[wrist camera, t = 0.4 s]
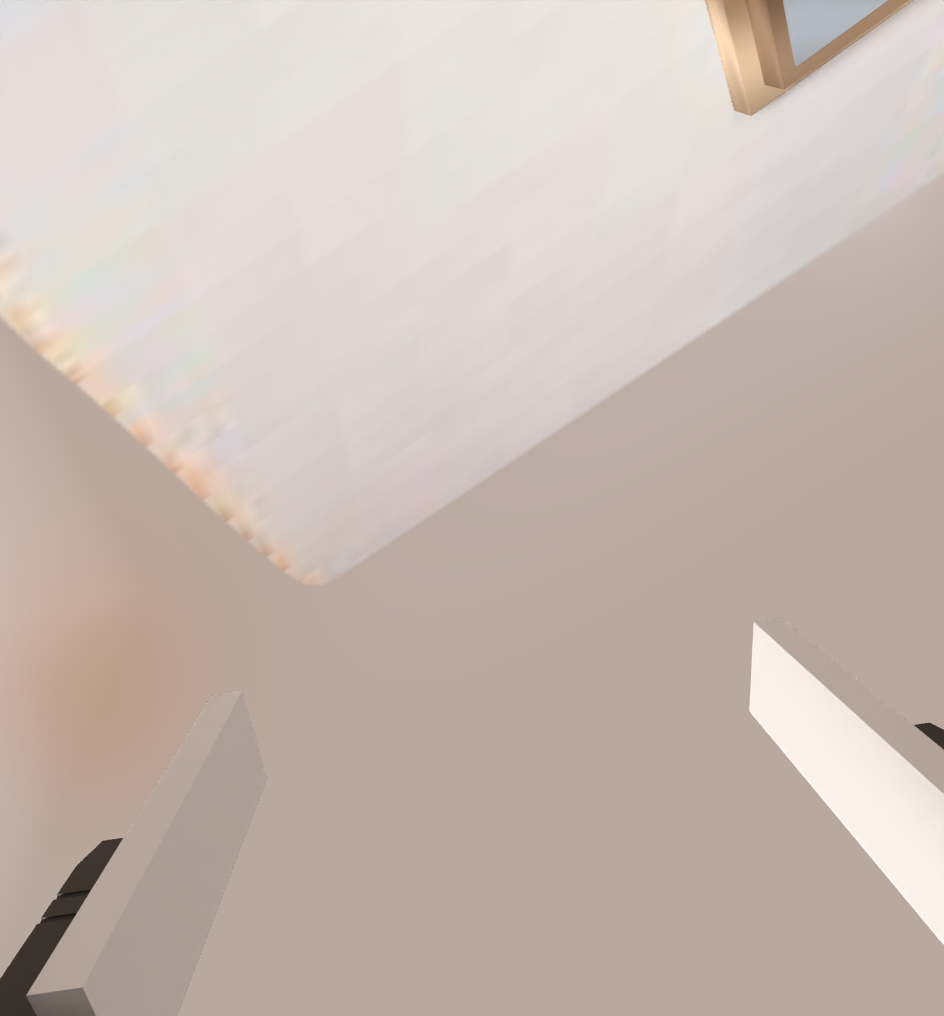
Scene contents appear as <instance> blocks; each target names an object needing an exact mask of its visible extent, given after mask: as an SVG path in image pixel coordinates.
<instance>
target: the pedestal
mask: <svg viewBox="0 0 944 1016" xmlns="http://www.w3.org/2000/svg"><path fill="white" fill-rule="evenodd" d="M911 1H913V0H706V4H707V8H708V12H709V15H710V19H711V23H712V27H713V31H714V34H715V38H716V42H717V46H718V49H719V53H720V57H721V61H722V65H723V68H724V72H725V76H726V80H727V84H728V87H729V91H730V95H731V99H732V103H733V106H734V110H735V111H738V112H741V113H744V114H747V115H750V116H752V115H753V114H755V113H756V112H758V111H759V110H760V109H762V108H763V107H765V106H766V105H767V104H769V103H770V102H772V101H773V100H774V99H776V98H777V97H779V96H780V95H781V94H783V93H784V92H785V91H787V90H788V89H790V88H791V87H792V86H794V85H795V84H797V83H798V82H799V81H801V80H802V79H804V78H805V77H806V76H808V75H809V74H811V73H812V72H813V71H815V70H816V69H818V68H819V67H820V66H822V65H823V64H825V63H826V62H827V61H829V60H830V59H832V58H833V57H834V56H836V55H837V54H839V53H840V52H841V51H843V50H844V49H846V48H847V47H848V46H850V45H851V44H853V43H854V42H855V41H857V40H858V39H860V38H861V37H862V36H864V35H865V34H866V33H868V32H869V31H871V30H872V29H873V28H875V27H876V26H878V25H879V24H880V23H882V22H883V21H885V20H886V19H887V18H889V17H890V16H892V15H893V14H894V13H896V12H897V11H899V10H900V9H901V8H903V7H904V6H906V5H907V4H908V3H910V2H911Z"/></svg>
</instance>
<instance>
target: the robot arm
mask: <svg viewBox="0 0 944 1016" xmlns="http://www.w3.org/2000/svg"><path fill="white" fill-rule="evenodd" d="M750 690H751V691H750V710H749V711H750V712H751V714H752V715H753V716H754V717H755V718H756V720H757V721H758V722H759V723H760V724H761V725H762V727H763V728H764V729H765V731H766V732H767V733H768V734H769V735H770V737H771V738H772V739H773V740H774V741H775V743H776V744H777V745H778V746H779V747H780V748H781V750H782V751H783V752H784V753H785V755H786V756H787V757H788V758H789V759H790V760H791V762H792V763H793V764H794V765H795V767H796V768H797V769H798V770H799V771H800V773H801V774H802V775H803V776H804V777H805V778H806V780H807V781H808V782H809V783H810V784H811V786H812V787H813V788H814V789H815V791H816V792H817V793H818V794H819V795H820V797H821V798H822V799H823V800H824V801H825V803H826V804H827V805H828V806H829V807H830V809H831V810H832V811H833V812H834V813H835V815H836V816H837V817H838V818H839V820H841V822H842V823H843V824H844V826H845V827H846V828H847V829H848V830H849V831H850V833H851V834H852V835H853V836H854V837H855V839H856V840H857V841H858V842H859V843H860V845H861V846H862V847H863V848H864V850H865V851H866V852H867V853H868V854H869V856H870V857H871V858H872V859H873V860H874V861H875V863H876V864H877V865H878V866H879V868H880V869H881V870H882V871H883V872H884V874H885V875H886V876H887V877H888V878H889V879H890V881H891V882H892V883H893V884H894V886H895V887H896V888H897V889H898V890H899V892H900V893H901V894H902V895H903V896H904V898H905V899H906V900H907V901H908V903H910V905H911V906H912V907H913V909H914V910H915V911H916V912H917V913H918V915H920V917H921V918H922V919H923V921H924V922H925V923H926V924H927V925H928V927H929V928H930V929H931V930H932V931H933V933H934V934H935V935H936V936H937V937H938V939H939V940H940V941H941V942H942V943H943V945H944V730H943V729H941V728H939V727H937V726H935V725H933V724H931V723H925V724H918V725H913V724H912V723H910V722H909V721H908V720H907V719H906V718H904V717H903V716H902V715H901V714H899V713H898V712H897V711H896V710H895V709H893V708H892V707H891V706H890V705H888V704H887V703H886V702H885V701H884V700H882V699H881V698H880V697H879V696H878V695H876V694H875V693H874V692H872V691H871V690H870V689H869V688H868V687H866V686H865V685H864V684H863V683H862V682H860V681H859V680H858V679H856V677H854V676H853V675H852V674H851V673H849V672H848V671H847V670H846V669H844V668H843V667H842V666H841V665H840V664H838V663H837V662H836V661H835V660H833V659H832V658H831V657H830V656H829V655H827V654H826V653H825V652H824V651H823V650H821V649H820V648H819V647H818V646H816V645H815V644H814V643H813V642H812V641H810V640H809V639H808V638H807V637H805V636H804V635H803V634H802V633H801V632H799V631H798V630H797V629H796V628H794V627H793V626H792V625H791V624H790V623H788V622H787V621H786V620H785V619H783V618H779V619H772V620H764V621H756V622H754V627H753V649H752V671H751V689H750ZM266 780H267V776H266V772H265V769H264V765H263V761H262V758H261V754H260V751H259V747H258V744H257V740H256V737H255V733H254V730H253V726H252V723H251V719H250V716H249V712H248V708H247V705H246V701H245V698H244V694H243V691H237V692H230V693H222V694H215V695H212V696H211V697H210V699H209V701H208V702H207V704H206V705H205V707H204V708H203V710H202V712H201V713H200V715H199V717H198V718H197V720H196V722H195V723H194V725H193V726H192V728H191V730H190V731H189V733H188V734H187V736H186V738H185V739H184V741H183V742H182V744H181V746H180V747H179V749H178V751H177V752H176V754H175V755H174V757H173V759H172V760H171V762H170V763H169V765H168V767H167V768H166V770H165V772H164V773H163V775H162V777H161V778H160V780H159V782H158V783H157V785H156V786H155V788H154V790H153V791H152V793H151V794H150V796H149V797H148V799H147V801H146V803H145V804H144V806H143V807H142V809H141V810H140V812H139V814H138V815H137V817H136V819H135V820H134V822H133V823H132V825H131V827H130V828H129V830H128V831H127V833H126V835H125V836H124V838H119V839H112V840H106V841H102V842H101V843H100V844H99V845H98V846H97V847H96V848H95V849H94V850H93V851H92V852H91V853H90V854H88V856H86V857H85V858H84V859H83V861H81V862H80V863H79V864H78V865H77V866H76V867H75V869H74V870H73V872H72V873H71V875H70V876H69V878H68V879H67V881H66V882H65V884H64V885H63V887H62V888H61V890H60V891H59V893H58V894H57V899H56V900H53V901H52V903H51V905H50V906H49V907H48V909H47V910H46V912H45V913H44V915H43V916H42V918H41V919H42V920H41V923H40V924H37V925H36V927H35V928H34V930H33V931H32V933H31V934H30V936H29V937H28V938H27V940H26V942H25V943H24V944H23V946H22V947H21V949H20V950H19V952H18V953H17V955H16V956H15V958H14V959H13V961H12V962H11V964H10V965H9V967H8V968H7V970H6V971H5V973H4V974H3V976H2V977H1V979H0V1016H178V1013H179V1010H180V1008H181V1005H182V1003H183V999H184V997H185V994H186V992H187V989H188V987H189V984H190V981H191V979H192V976H193V973H194V971H195V968H196V965H197V963H198V960H199V957H200V955H201V952H202V950H203V947H204V944H205V942H206V939H207V936H208V933H209V931H210V928H211V926H212V923H213V920H214V918H215V915H216V913H217V910H218V907H219V905H220V902H221V899H222V897H223V894H224V891H225V889H226V886H227V883H228V881H229V878H230V875H231V873H232V870H233V868H234V865H235V862H236V860H237V857H238V854H239V852H240V849H241V846H242V843H243V841H244V838H245V836H246V833H247V830H248V828H249V825H250V823H251V820H252V817H253V814H254V812H255V809H256V807H257V804H258V801H259V798H260V796H261V793H262V791H263V788H264V785H265V783H266Z"/></svg>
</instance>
